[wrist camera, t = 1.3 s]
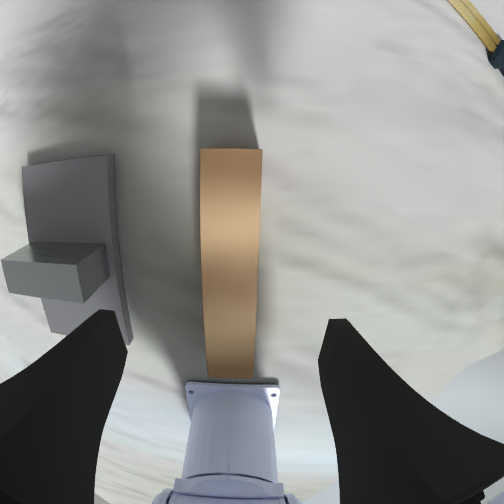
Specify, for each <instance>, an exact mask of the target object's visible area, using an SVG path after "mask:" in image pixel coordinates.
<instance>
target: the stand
mask: <svg viewBox="0 0 504 504" xmlns="http://www.w3.org/2000/svg"><path fill="white" fill-rule="evenodd" d="M22 180H23V195H24V206H25V216H26V224H27V231H28V238H29V244H28V245H26V246H25V247H23V248H21V249H19V250H17V251H16V252H14V253H12V254H10V255H8V256H7V257H5V258H3V259H1V262H2V267H3V271H4V275H5V279H6V283H7V287H8V291H9V293H15V294H21V295H27V296H33V297H39V298H41V299H42V303H43V307H44V310H45V314H46V317H47V320H48V323H49V327H50V330H51V332H53V333H58V334H63V335H68V334H70V333H71V332H72V331H73V330H74V329H76V328H77V327H78V326H79V325H80V324H82V323H83V322H84V321H85V320H86V319H88V318H89V317H90V316H91V315H92V314H94V313H95V312H96V311H98V310H99V309H104V310H113V311H115V314H116V317H117V321H118V324H119V327H120V330H121V333H122V336H123V340H124V343H125V345H130V343H131V341H132V339H133V335H132V330H131V324H130V319H129V314H128V308H127V302H126V296H125V290H124V283H123V276H122V269H121V261H120V252H119V242H118V232H117V219H116V204H115V182H114V154H113V155H100V156H91V157H83V158H75V159H68V160H61V161H54V162H48V163H42V164H36V165H30V166H25V167H22Z"/></svg>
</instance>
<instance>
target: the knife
mask: <svg viewBox="0 0 504 504" xmlns="http://www.w3.org/2000/svg"><path fill="white" fill-rule="evenodd" d="M447 1H448V2H449V3H450V4H451V5H452V6H453V7H454V8H455V9H456V11H457V12H458V13H459V14H460V15H461V16H462V17H463V19H464V20H465V21H466V22H467V23H468V25H469V26H470V27H471V28H472V29H473V31H474V32H475V33H476V35H477V36H478V37H479V38H480V40H481V41H482V42H483V44H484V45H485V47H486V48H487V49H488V51H489V52H490V53H489V55H488V56H487V57H488V60H489V62H490V64H491V65H492V66H493V67H494V69H499V70H500V72H501V73H502V75H503V77H504V40H500V39H499V38H498V36H497V35H496V34H495V32H494V31H493V30H492V28H491V27H490V26H489V24H488V23H487V22H486V20H485V19H484V18H483V17H482V15H481V14H480V13H479V12H478V10H477V9H476V8H475V7H474V6H473V5H472V3H471V2H470V1H469V0H447Z"/></svg>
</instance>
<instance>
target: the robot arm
mask: <svg viewBox="0 0 504 504" xmlns="http://www.w3.org/2000/svg"><path fill="white" fill-rule="evenodd" d="M127 353H128V351H127V348H126V346H125V343H124V340H123V336H122V333H121V330H120V327H119V324H118V321H117V317H116V314H115V311H113V310H104V309H99V310H98V311H96V312H95V313H94V314H92V315H91V316H90V317H89V318H88V319H86V320H85V321H84V322H83V323H82V324H80V325H79V326H78V327H77V328H76V329H74V330H73V331H72V332H71V333H70V334H68V335H67V336H66V337H65V338H64V339H63V340H61V341H60V342H59V343H58V344H57V345H55V346H54V347H53V348H52V349H50V350H49V351H48V352H46V353H45V354H44V355H43V356H41V357H40V358H39V359H38V360H36V361H35V362H34V363H32V364H31V365H30V366H28V367H27V368H25V369H24V370H22V371H21V372H19V373H18V374H16V375H15V376H13V377H11V378H10V379H8V380H6V381H4V382H3V383H1V384H0V504H94V487H95V473H96V465H97V458H98V452H99V446H100V441H101V436H102V432H103V428H104V425H105V422H106V419H107V416H108V414H109V411H110V408H111V405H112V402H113V400H114V397H115V394H116V391H117V389H118V386H119V383H120V380H121V378H122V374H123V370H124V366H125V362H126V357H127ZM318 365H319V374H320V382H321V388H322V392H323V396H324V400H325V404H326V408H327V412H328V416H329V420H330V424H331V428H332V432H333V436H334V441H335V447H336V453H337V463H338V473H339V488H340V504H481V502H480V501H481V500H483V499H484V498H485V495H484V492H483V490H484V489H486V488H487V487H489V486H490V485H492V484H494V483H495V482H497V481H498V480H499V479H501V478H502V477H504V444H502V443H500V442H497V441H495V440H492V439H490V438H488V437H485V436H483V435H481V434H479V433H477V432H475V431H473V430H471V429H469V428H467V427H466V426H464V425H462V424H460V423H459V422H457V421H455V420H454V419H452V418H451V417H449V416H448V415H446V414H445V413H443V412H442V411H440V410H439V409H437V408H436V407H435V406H433V405H432V404H431V403H429V402H428V401H427V400H426V399H424V398H423V397H422V396H421V395H420V394H418V393H417V392H416V391H415V390H414V389H412V388H411V387H410V386H409V385H408V384H407V383H406V382H405V381H404V380H403V379H402V378H401V377H400V376H398V375H397V374H396V373H395V372H394V371H393V370H392V369H391V368H390V367H389V366H388V365H387V364H386V362H385V361H384V360H383V359H382V358H381V357H380V356H379V355H378V354H377V353H376V352H375V351H374V350H373V348H372V347H371V346H370V345H369V344H368V343H367V342H366V341H365V339H364V338H363V337H362V336H361V335H360V334H359V333H358V331H357V330H356V329H355V328H354V327H353V326H352V324H351V323H350V322H349V321H348V320H347V319H329V321H328V325H327V329H326V332H325V336H324V340H323V344H322V347H321V351H320V355H319V358H318ZM185 390H186V396H187V402H188V408H189V414H190V419H191V425H190V431H189V437H188V443H187V448H186V454H185V460H184V466H183V473H182V479H178V478H176V479H175V483H174V489H168V488H167V489H164V490H163V491H162V492H161V493H159V494H158V495H157V496H156V497H155V498H154V500H153V502H152V504H302V502H301V501H300V500H299V499H297V498H296V497H295V496H294V495H293V494H285V495H284V489H283V483H278V475H277V464H276V452H275V440H274V429H275V422H276V416H277V409H278V402H279V396H280V387H279V386H278V385H249V384H219V383H202V382H187V383H186V385H185ZM190 390H192V391H190ZM272 393H275V394H272ZM484 504H504V492H502V493H501V494H499V495H497V496H496V497H494V498H493V499H491V500H490V501H488V502H486V503H484Z"/></svg>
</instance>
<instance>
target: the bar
mask: <svg viewBox="0 0 504 504" xmlns="http://www.w3.org/2000/svg"><path fill="white" fill-rule="evenodd" d="M261 175H262V149H200V234H201V270H202V295H203V315H204V332H205V347H206V360H207V373H208V377H217V378H246V379H253V374H254V352H255V329H256V306H257V282H258V257H259V231H260V204H261Z"/></svg>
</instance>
